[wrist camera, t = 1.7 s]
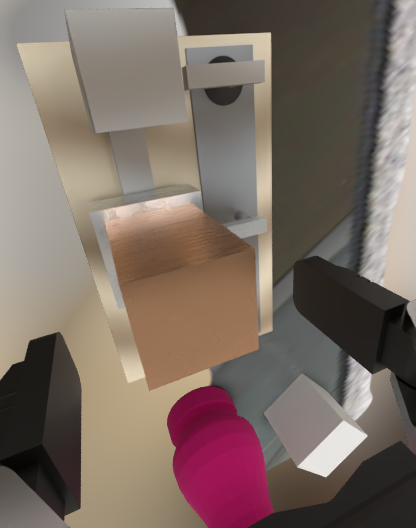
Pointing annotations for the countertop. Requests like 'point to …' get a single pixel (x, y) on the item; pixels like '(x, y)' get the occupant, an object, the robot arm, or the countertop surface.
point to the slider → (180, 279)
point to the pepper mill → (218, 460)
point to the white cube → (313, 427)
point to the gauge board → (156, 128)
